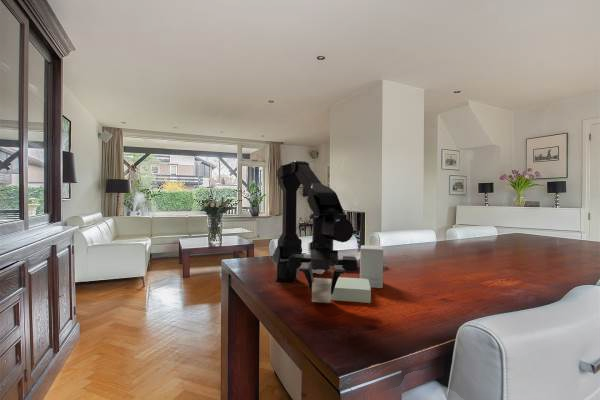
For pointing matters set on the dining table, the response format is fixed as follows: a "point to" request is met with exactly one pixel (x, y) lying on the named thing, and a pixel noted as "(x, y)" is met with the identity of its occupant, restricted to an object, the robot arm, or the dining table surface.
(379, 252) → the supplement box
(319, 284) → the cream block
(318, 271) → the medicine bottle
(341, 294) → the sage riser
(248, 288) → the dining table surface
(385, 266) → the spoon rest
